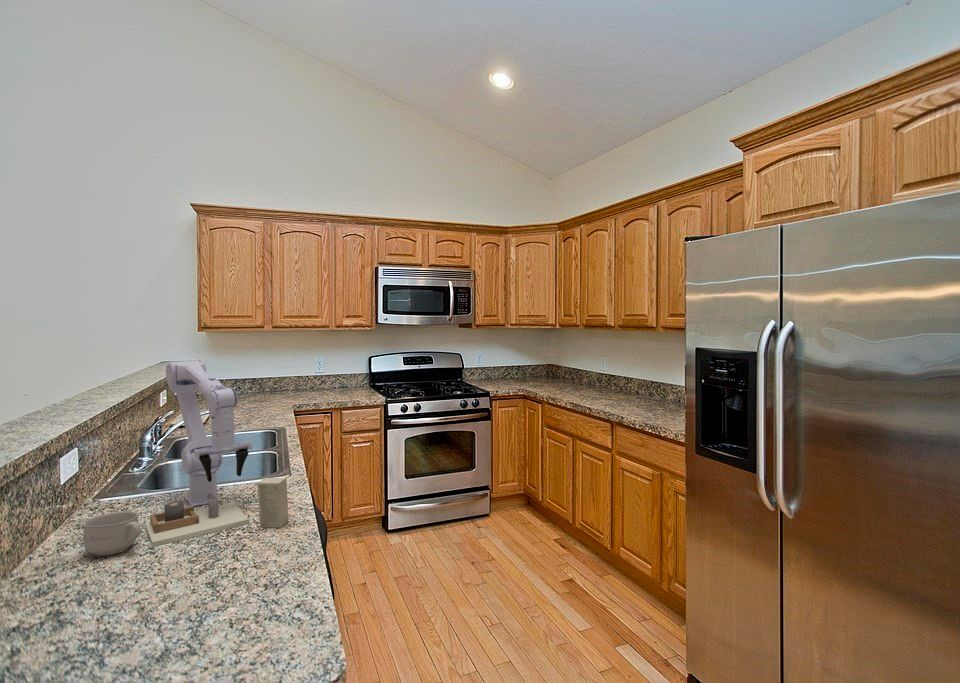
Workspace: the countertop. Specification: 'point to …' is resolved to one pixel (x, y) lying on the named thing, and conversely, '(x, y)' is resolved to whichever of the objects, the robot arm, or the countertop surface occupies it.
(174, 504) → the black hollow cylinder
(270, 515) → the skincare box
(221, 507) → the board
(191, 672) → the countertop surface
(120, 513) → the teacup
